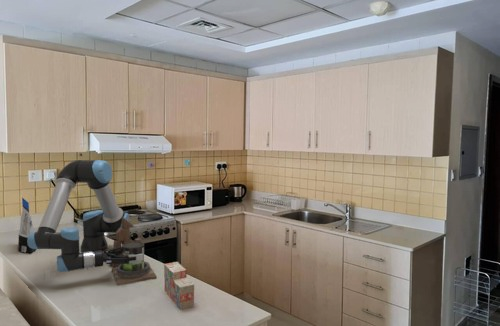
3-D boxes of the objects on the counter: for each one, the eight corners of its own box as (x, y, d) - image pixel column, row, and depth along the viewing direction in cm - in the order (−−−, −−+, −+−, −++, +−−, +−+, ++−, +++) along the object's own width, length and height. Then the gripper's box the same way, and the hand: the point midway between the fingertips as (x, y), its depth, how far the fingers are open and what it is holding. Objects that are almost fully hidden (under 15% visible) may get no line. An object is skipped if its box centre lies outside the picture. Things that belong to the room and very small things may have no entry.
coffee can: (135, 277, 175) (135, 248, 174) (118, 274, 179) (117, 246, 178) (148, 270, 185) (148, 242, 184) (131, 267, 188) (131, 240, 187)
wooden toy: (113, 268, 191) (112, 221, 189) (109, 265, 196) (107, 218, 194) (142, 262, 200) (141, 216, 198) (137, 258, 206) (136, 214, 204)
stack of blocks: (194, 306, 149) (194, 277, 148) (179, 310, 146) (179, 280, 145) (177, 287, 168) (177, 261, 167) (164, 290, 165) (163, 263, 164)
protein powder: (21, 256, 210) (18, 204, 207) (15, 246, 228) (13, 198, 226) (40, 252, 216) (38, 202, 213) (33, 243, 234) (31, 196, 232)
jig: (111, 270, 187) (111, 262, 187) (147, 265, 196) (147, 257, 195) (117, 285, 170) (117, 276, 169) (156, 278, 178) (156, 269, 177)
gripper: (92, 259, 185) (135, 252, 195) (96, 275, 163) (145, 268, 173) (91, 244, 184) (135, 239, 194) (95, 259, 162) (145, 252, 172)
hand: (140, 252), depth 183 cm, fingers open, 13 cm apart
